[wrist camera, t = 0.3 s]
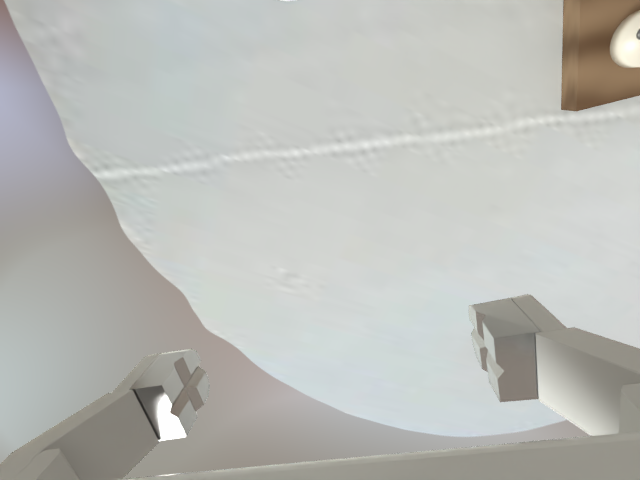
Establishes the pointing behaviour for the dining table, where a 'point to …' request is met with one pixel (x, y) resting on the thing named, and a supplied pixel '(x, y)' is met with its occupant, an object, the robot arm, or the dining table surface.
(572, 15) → the button board
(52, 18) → the dining table surface
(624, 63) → the button three
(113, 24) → the dining table surface
